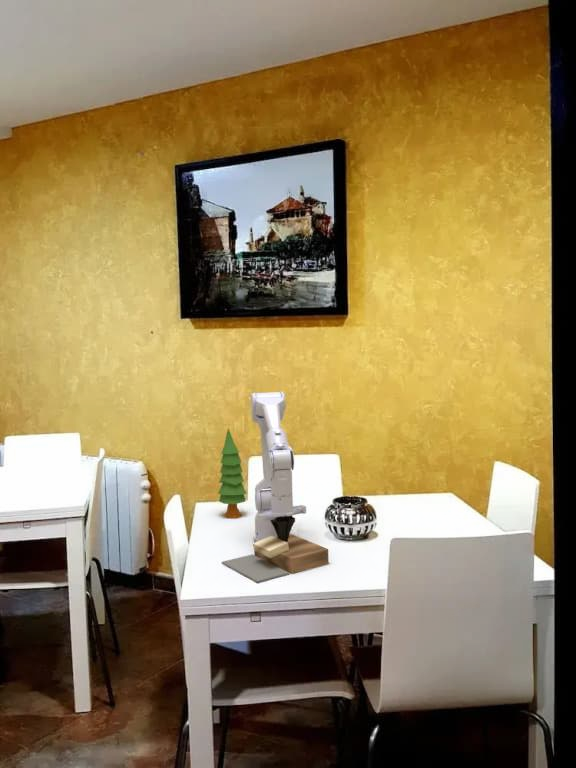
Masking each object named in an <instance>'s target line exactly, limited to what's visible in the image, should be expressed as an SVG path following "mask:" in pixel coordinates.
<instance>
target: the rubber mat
mask: <svg viewBox="0 0 576 768" xmlns="http://www.w3.org/2000/svg"><path fill="white" fill-rule="evenodd" d="M221 564H222V565H224V566H225V567H227V568H229V569H231V570H232V571H234V572H236V573H238V574H240V575H242V576H244V577H245V578H247V579H249V580H251V581H252V582H255V583H256V584H260V583H264V582H267V581H271V580H275V579H278V578H281V576H282V577H285V576H289V575H290V573H289V572H287V571H285V570H283V569H281V568H279V567H277V566H275V565H273V564H271V563H269V562H267V561H265V560H263V559H261V558H259V557H257V556H255V555H254V553H252V554H248V555H245V556H244V555H243V556H239V557H236V558H232V559H228V560H224V561H221ZM277 577H278V578H277ZM274 578H275V579H274ZM270 579H271V580H270ZM263 581H264V582H263Z"/></svg>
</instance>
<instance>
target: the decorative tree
mask: <svg viewBox="0 0 576 768" xmlns="http://www.w3.org/2000/svg"><path fill="white" fill-rule="evenodd" d="M224 441H225V442H224V445H223V446H222V447H223V448H222V450H221V455H222V457H221V460H220V464H222V465H221V468H220V471H219V473H220V474H221V476H220V479H219V482H218V483H219V484H221V486H220V488H219V490H218V493H217V495H220V496H219V500H218V502H219V503H220V504H221V503H222V504H224V505H227V507H226V512H225V514H224V517H225V518H226V519H238V518H239V517H242V516H243V515H242V513H241V512H240V510H239V509H238V504H241V503H245V502H246V496H245V495H247V491H246V489H245V487H244V485H243V482H244V481H245V480H244V478H243V476H242V473H243V468H242V466H241V464H242V460H241V457H240V451H239V449H238V447H237V446H236V444H235V441H234V439H233V436H232V434H231V431H230V429H229V428H227V430H226V436H225V440H224Z"/></svg>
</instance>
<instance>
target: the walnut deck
mask: <svg viewBox="0 0 576 768" xmlns="http://www.w3.org/2000/svg"><path fill="white" fill-rule="evenodd" d="M276 538H278V537H277V536H276ZM258 541H260V540H258ZM255 542H257V541H256V540H253V543H255ZM287 543H288V546H289V550H288V551H285V552H283V553H281V554H279V555H276V556H274V557H272V558H269V557H267V556H265V555H263V554H261V553H259V552H256V551H254V550H253V551H254V552H253V555H255V556H257V557H259V558H261V559H263V560H265V561H267V562H269V563H271V564H273V565H275V566H277V567H279V568H281V569H283V570H285V571H287V572H289V574H291V575H292V574H297V573H300V572H303V571H308V570H311V569H314V568H318V567H323V566H326V565H328V564H329V549H328V548H326V547H324V546H321V545H319V544H316V543H314V542H311V541H309V540H307V539H304V538H302V537H300V536H298V535H295V534H292V533H290V534H289V538H288V542H287Z"/></svg>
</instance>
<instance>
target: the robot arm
mask: <svg viewBox="0 0 576 768" xmlns="http://www.w3.org/2000/svg"><path fill="white" fill-rule="evenodd" d="M286 400H287V399H286V394H285V392H283V391H274V392H270V391H269V392H252V393H251V394H250V411H251V413H250V414H251V418H252V422H254V423H256V424H258V428H259V431H260V432H259V433H260V443H261V446H260V447H261V458H262V459H261V460H262V461H261V462H262V472H263V478H262V479H261V480H260V481H259V482H258V483H257V484H256V485H255V488H254V501H255V502H254V503H255V504H254V505H255V509H256V511H257V512H256V514H255V517H254V531H255V534H254V535H255V536H254V537H253V538H252V540H253V541H258V540H262V539H264V538H267V537H269V536H273V537H276V536H277V537H278V539H280V540H283V541H285V542H288V538H289V534H291V530H292V528H293V526H294V523H296V517H293V516H295V515H296V516H297V515H302V514H303V515H305V514H307V506H306V505H303V504H300V505H294V503H293V501H294V500H293V498H294V497H293V471H294V469H295V455H294V450H293V449H292V447H291V445H289V442H288V441H289V440H288V436H287V432H286V431H285V430H284V429H282V426H281V425H282V423H281V421H283V418H284V416H285V411H286V407H287V405H286V403H287V401H286Z"/></svg>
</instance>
